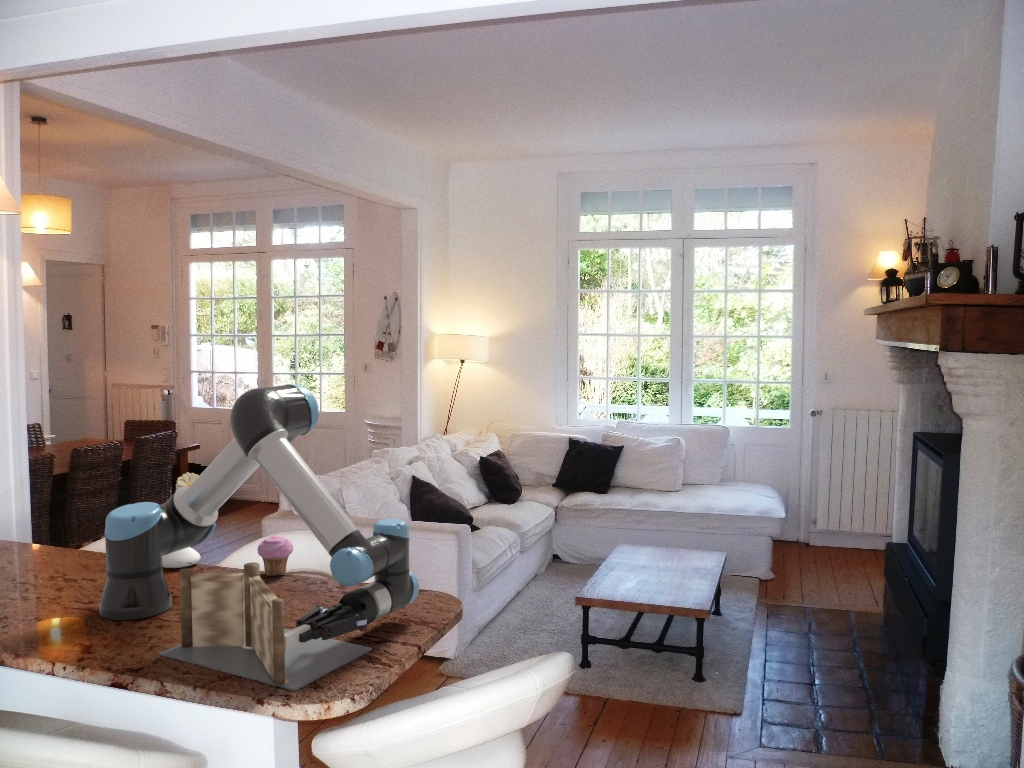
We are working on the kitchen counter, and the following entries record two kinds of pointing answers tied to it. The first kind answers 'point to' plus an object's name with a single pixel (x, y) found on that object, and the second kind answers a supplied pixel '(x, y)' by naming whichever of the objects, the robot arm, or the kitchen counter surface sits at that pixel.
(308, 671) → the card
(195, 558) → the flower in vase
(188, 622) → the wooden fence section
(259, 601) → the fence panel
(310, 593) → the kitchen counter surface
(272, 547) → the cupcake
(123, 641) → the kitchen counter surface
